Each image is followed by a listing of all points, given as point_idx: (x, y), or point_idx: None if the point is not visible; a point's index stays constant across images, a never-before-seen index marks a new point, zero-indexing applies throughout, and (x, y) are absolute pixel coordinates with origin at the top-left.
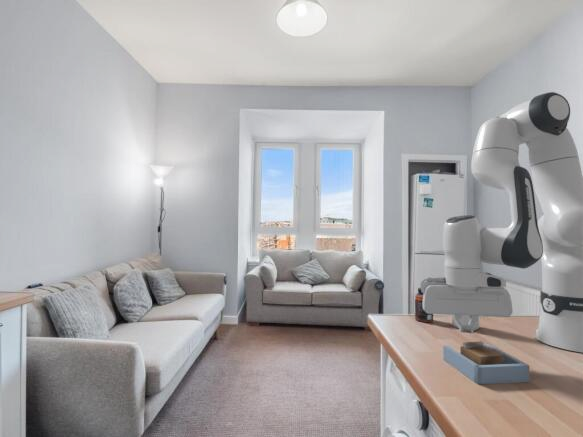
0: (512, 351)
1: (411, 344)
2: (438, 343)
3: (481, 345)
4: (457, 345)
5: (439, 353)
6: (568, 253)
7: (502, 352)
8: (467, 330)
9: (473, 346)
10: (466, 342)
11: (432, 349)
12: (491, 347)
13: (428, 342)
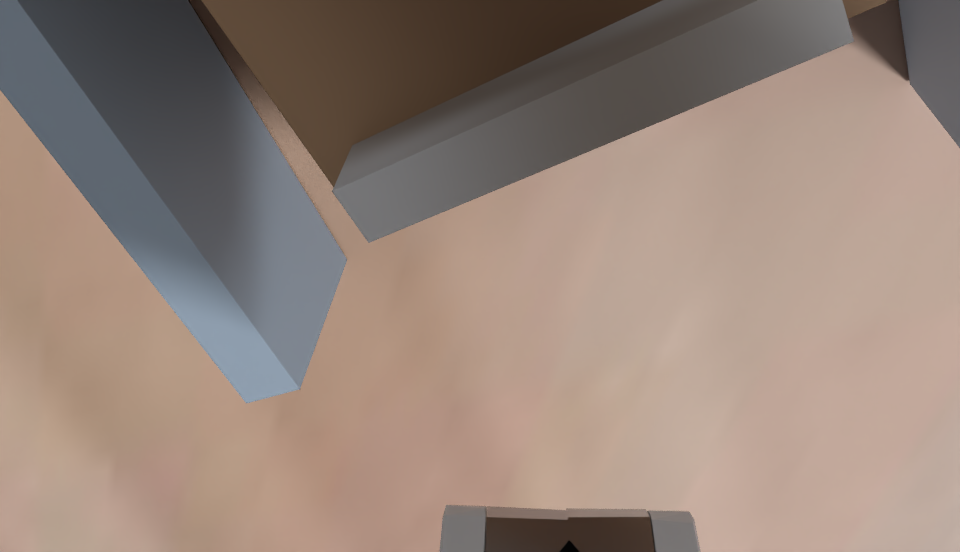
0: (30, 477)
1: None
2: (778, 526)
3: (387, 136)
4: None
5: (921, 266)
6: None
7: (53, 115)
8: (562, 539)
9: (578, 47)
10: (754, 70)
11: (957, 365)
12: (209, 284)
13: (896, 532)
